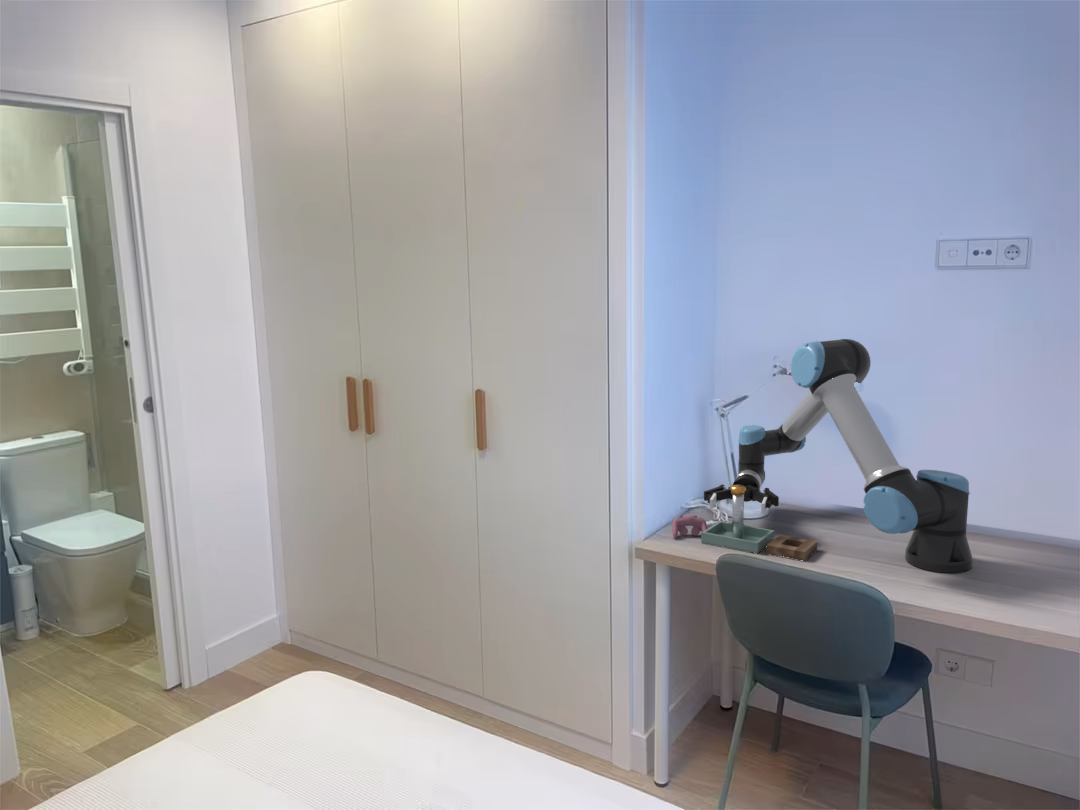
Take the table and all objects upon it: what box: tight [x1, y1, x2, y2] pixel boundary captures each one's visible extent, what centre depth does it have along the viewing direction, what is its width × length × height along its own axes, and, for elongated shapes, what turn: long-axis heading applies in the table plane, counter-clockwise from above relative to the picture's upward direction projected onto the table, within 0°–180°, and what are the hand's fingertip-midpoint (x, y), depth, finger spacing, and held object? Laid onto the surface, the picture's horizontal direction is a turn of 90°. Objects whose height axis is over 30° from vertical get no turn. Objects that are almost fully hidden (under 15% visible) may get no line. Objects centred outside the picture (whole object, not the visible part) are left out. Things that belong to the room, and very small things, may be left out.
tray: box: [700, 520, 775, 554], centre depth 225 cm, size 16×12×3 cm
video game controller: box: [671, 514, 709, 540], centre depth 231 cm, size 10×5×7 cm, turn 85°
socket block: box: [765, 534, 818, 562], centre depth 216 cm, size 10×10×2 cm
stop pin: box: [730, 484, 746, 539], centre depth 224 cm, size 4×4×15 cm
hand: (736, 506), depth 220 cm, fingers open, 13 cm apart
